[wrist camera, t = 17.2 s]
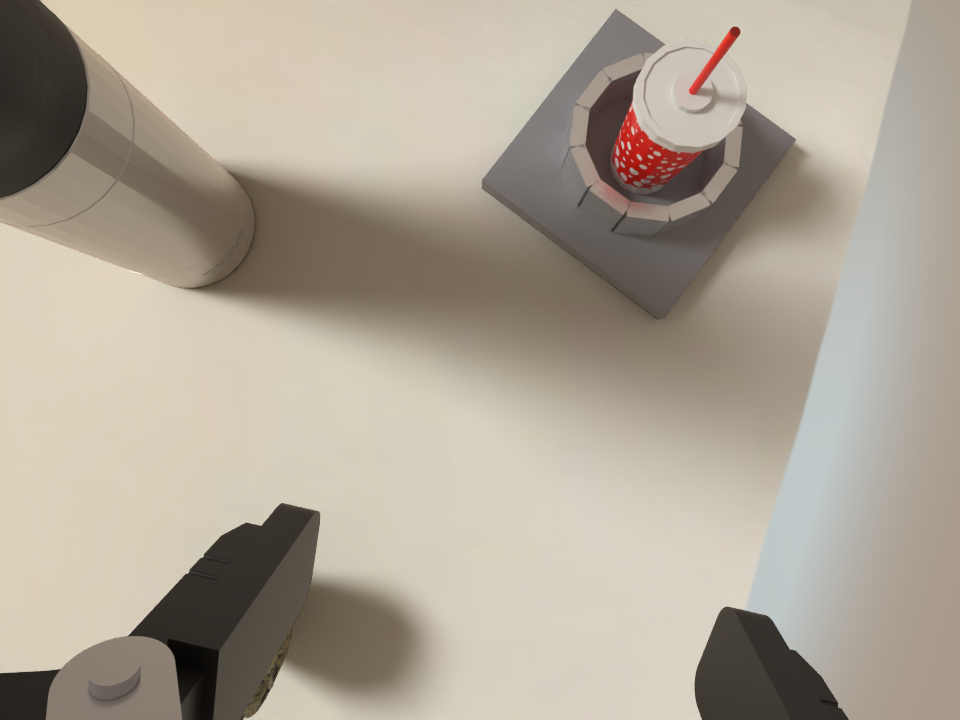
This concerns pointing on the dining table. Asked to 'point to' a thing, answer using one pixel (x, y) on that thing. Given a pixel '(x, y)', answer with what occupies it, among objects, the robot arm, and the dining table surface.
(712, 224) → the flange board
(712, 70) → the beverage cup
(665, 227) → the collar
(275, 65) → the dining table surface
